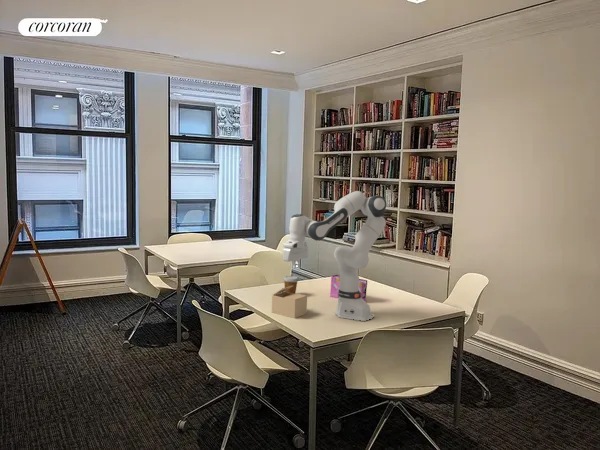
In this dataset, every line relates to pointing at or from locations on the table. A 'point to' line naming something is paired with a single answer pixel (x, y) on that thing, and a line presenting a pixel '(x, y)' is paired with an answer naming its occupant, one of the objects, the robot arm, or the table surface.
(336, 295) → the gum box
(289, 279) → the disposable coffee cup
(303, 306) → the kraft carton
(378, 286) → the table surface
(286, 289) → the carton flap
